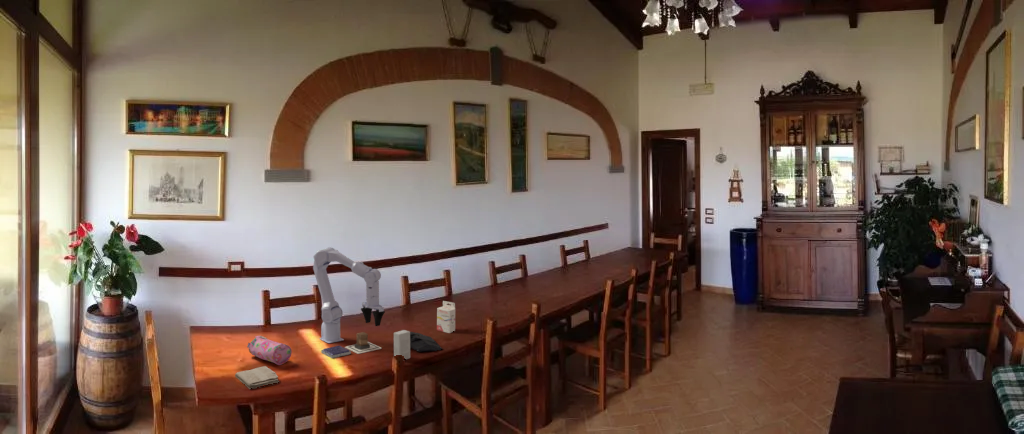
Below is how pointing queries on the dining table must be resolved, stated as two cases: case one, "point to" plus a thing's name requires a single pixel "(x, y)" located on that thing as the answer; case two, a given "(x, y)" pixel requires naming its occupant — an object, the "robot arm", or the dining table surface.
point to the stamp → (362, 341)
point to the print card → (372, 347)
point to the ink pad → (335, 351)
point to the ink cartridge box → (446, 317)
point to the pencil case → (270, 350)
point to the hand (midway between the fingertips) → (372, 324)
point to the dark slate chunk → (423, 343)
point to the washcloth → (257, 377)
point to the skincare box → (402, 343)
